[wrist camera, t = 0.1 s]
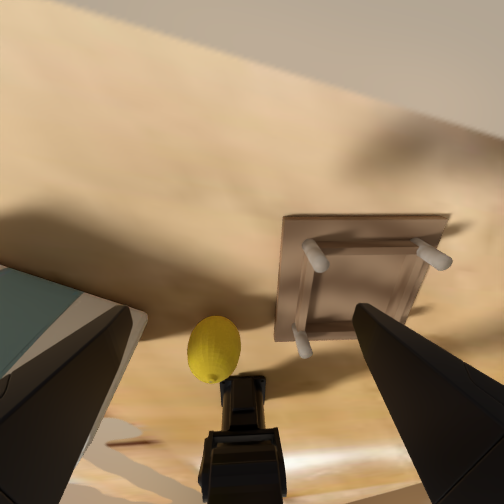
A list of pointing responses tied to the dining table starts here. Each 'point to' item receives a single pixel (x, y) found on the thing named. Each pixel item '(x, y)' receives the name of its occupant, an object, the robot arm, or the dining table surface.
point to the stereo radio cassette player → (51, 323)
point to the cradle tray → (350, 272)
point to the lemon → (214, 349)
